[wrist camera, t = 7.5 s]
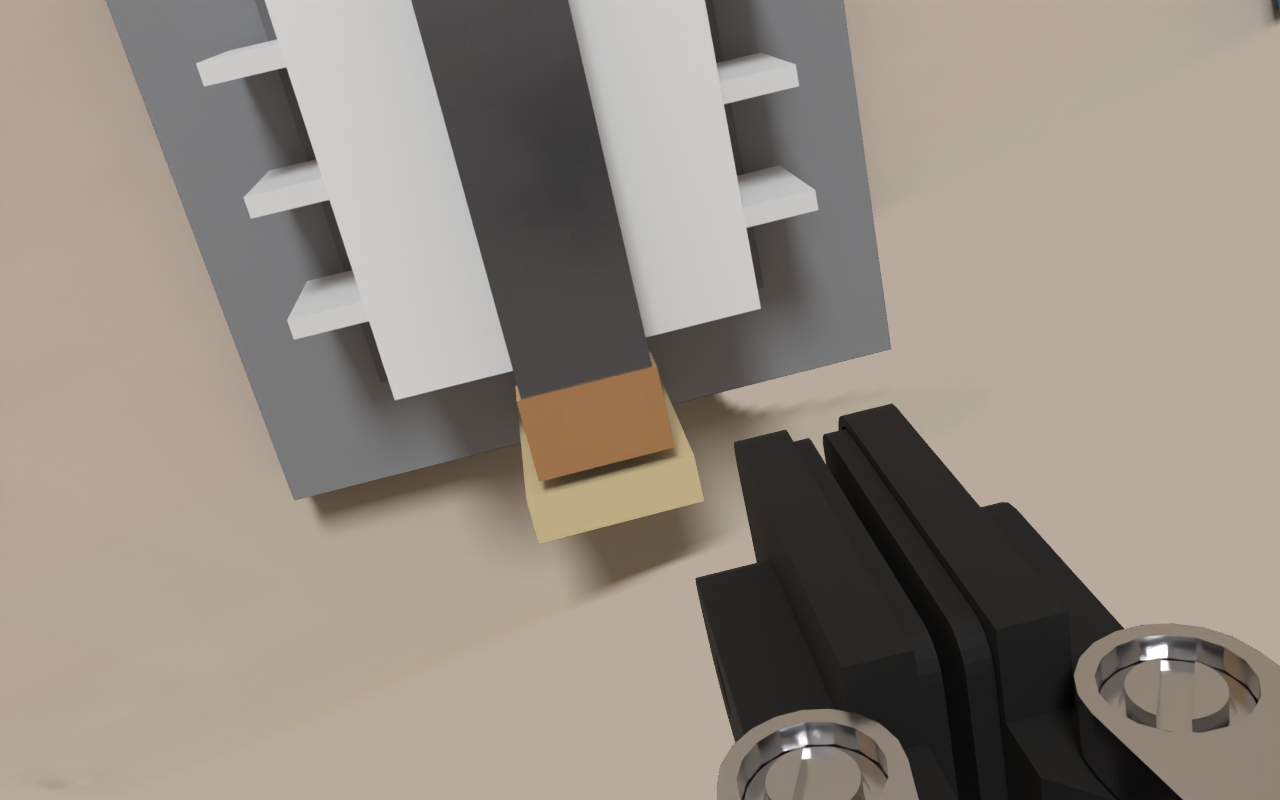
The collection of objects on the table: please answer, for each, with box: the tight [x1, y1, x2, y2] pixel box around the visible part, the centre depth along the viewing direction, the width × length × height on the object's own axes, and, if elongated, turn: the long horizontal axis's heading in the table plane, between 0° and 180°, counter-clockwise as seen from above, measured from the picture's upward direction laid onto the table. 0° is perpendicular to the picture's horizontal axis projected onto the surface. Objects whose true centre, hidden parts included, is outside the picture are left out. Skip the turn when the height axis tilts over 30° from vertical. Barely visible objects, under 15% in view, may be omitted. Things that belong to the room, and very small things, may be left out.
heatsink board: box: [106, 0, 891, 544], centre depth 27 cm, size 18×20×8 cm
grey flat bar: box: [411, 0, 675, 482], centre depth 24 cm, size 16×4×2 cm, turn 13°
